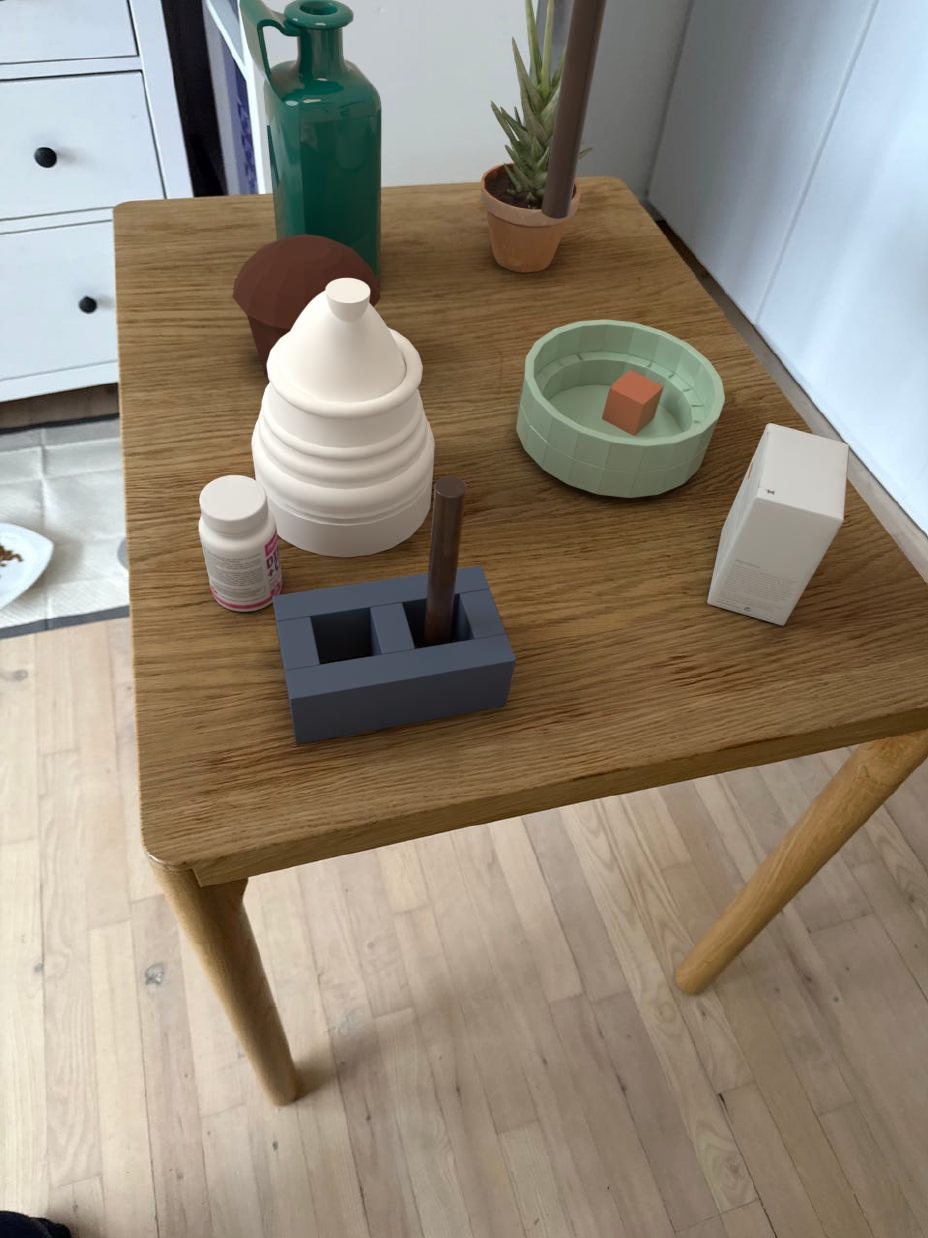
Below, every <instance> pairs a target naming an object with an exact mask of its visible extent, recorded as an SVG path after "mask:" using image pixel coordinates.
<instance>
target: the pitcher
mask: <svg viewBox="0 0 928 1238" xmlns="http://www.w3.org/2000/svg"><path fill="white" fill-rule="evenodd" d="M238 7H239V12H240V17H241V22H242V26H243V31H244V36H245V40H246V44H247V49H248V51H249V55H250V57H251V59H252V61H253V63H254V65H255V66H256V68H257V69H258V71H259V72H260V73H261V76H262V77H263V78H264V81H263V87H262V89H263V101H264V112H265V113H264V114H265V123H266V132H267V133H266V134H267V145H268V157H269V167H270V178H271V190H272V201H273V202H272V203H273V214H274V223H275V234H276V235H275V236H276V241H277V240H280V239H283V238H286V237H288V236H295V235H306V234H307V235H315V236H323V237H326V238H329V239H331V240H334V241H336V242H339V243H341V244H344V245H346V246H348V247H350V248H352V249H353V250H354V251H355V252H356V253H357V254H358V255H359V256H360V257H361V258H362V259H363V260H364V261H365V262H366V263H367V264H368V265H369V266H370V267H371V268H372V270H373V272H374V274H375V276H376V278H377V279H378V280H379V279H380V277H381V273H382V271H381V270H382V269H381V267H382V265H381V263H382V262H381V261H382V256H381V255H382V133H383V131H382V128H383V126H382V125H383V124H382V123H383V122H382V121H383V120H382V119H383V117H382V115H383V105H382V99H381V95H380V93H379V91H378V89H377V88H376V86H375V85H374V84H373V83H372V82H371V81H370V79H369V78H368V77H367V76H366V75H365V73H364V72H363V71H362V70H361V69H360V67H358V65H357V64H356V63H354V62H352V61H350V60H348V59H345V55H344V28H345V27H348V26H349V25H350V24H352V22H353V21H354V17H355V16H354V15H355V13H354V11H353V10H352V9H351V8H350V7H349V6H348V5H347V4H344V3H343V2H340V1H338V0H292V1H291V2H289V3H288V4H286V5H285V6H284V11H283V13H282V12H279V11H275V10H273V9H271V8H270V7H269V6H268V5H266V3H265V2H264V1H263V0H239V2H238ZM266 27H272V28H275V29H276V30H278V31H279V32H280V33H281V34H282V35H283V36H285V37H289V38H291V37H292V38H296V48H297V57H296V59H292V60H286V61H285V60H284V61H282V62H279V63H276V64H275V65H273V66H271V67H270V63H269V59H268V50H267V45H266V41H265V33H264V28H266Z"/></svg>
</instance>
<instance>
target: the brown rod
mask: <svg viewBox="0 0 928 1238" xmlns="http://www.w3.org/2000/svg"><path fill="white" fill-rule="evenodd" d="M607 2H608V0H572V6H571V13H570V19H569V26H568V27H569V28H568V33H567V34H568V35H567V38H566V39H567V40H566V43H567V45H566V44H565V46H566V52H565V58H564V65H563V71H562V78H561V84H560V91H559V97H558V104H557V111H556V117H555V124H554V130H553V137H552V143H551V150H550V156H549V163H548V169H547V176H546V183H545V189H544V196H543V202H542V209H541V210H542V213H543V214H544V215H546V216H547V217H550V218H554V219H562V218H565V217H567V216H568V215H569V211H570V205H571V200H572V194H573V188H574V183H575V179H576V176H577V172H578V166H579V161H580V160H579V155H580V152H581V150H582V149H581V148H582V145H583V144H582V139H584V138H583V137H584V132H585V126H586V121H587V115H588V110H589V103H590V99H591V98H590V97H591V93H592V87H593V81H594V78H593V76H594V71H595V69H596V65H597V59H598V55H599V47H600V42H601V37H602V30H603V26H604V21H605V14H606V8H607V4H608V3H607ZM595 72H596V71H595ZM594 77H595V76H594ZM581 144H582V145H581ZM578 160H579V161H578Z"/></svg>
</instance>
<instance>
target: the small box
mask: <svg viewBox="0 0 928 1238" xmlns="http://www.w3.org/2000/svg"><path fill="white" fill-rule="evenodd" d="M850 447H851V446H850V444H849V443H845V442H842V441H839V440H835V439H831V438H828V437H824V436H820V435H817V434H814V433H809V432H805V431H801V430H798V429H795V428H791V427H788V426H783V425H779V424H776V423H773V422H772V423H771V422H769V423H767V424H766V425H765V428H764V431H763V432H762V435H761V438H760V439H759V442H758V444H757V447H756V450H755V451H754V453H753V456H752V459H751V461H750V463H749V465H748V468H747V470H746V472H745V475H744V478H743V480H742V481H741V485H740V486H739V489H738V491H737V494H736V496H735V498H734V500H733V503H732V505H731V507H730V510H729V512H728V515H727V516H726V520H725V521H724V524H723V526H722V529H721V533H720V538H719V542H718V547H717V551H716V552H717V553H716V557H715V562H714V567H713V572H712V578H711V583H710V587H709V592H708V595H707V597H708V598H707V600H706V601H707V602H706V603H707V605H709V606H714V607H717V608H720V609H724V610H727V611H731V612H734V613H737V614H741V615H744V616H748V617H751V618H755V619H758V620H762V621H765V622H768V623H772V624H775V625H778V626H785V624H786V623H787V621H788V619H789V617H790V616H791V614H792V612H793V611H794V609H795V607H796V605H797V604H798V602H799V600H800V599H801V597H802V595H803V594H804V591H805V590H806V588H807V587H808V584H809V583H810V581H811V579H812V578H813V576H814V574H815V573H816V571H817V570H818V569H817V568H818V567H819V565H820V564H821V562H822V560H823V558H824V557H825V555H826V553H827V551H828V549H829V547H830V546H831V544H832V542H833V540H834V539H835V537H836V536H837V534H838V532H839V530H840V529H841V527H842V525H843V524H844V522H845V513H846V512H845V511H846V499H847V498H846V497H847V483H848V472H849V459H850V458H849V457H850Z"/></svg>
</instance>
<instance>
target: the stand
mask: <svg viewBox="0 0 928 1238" xmlns="http://www.w3.org/2000/svg"><path fill="white" fill-rule="evenodd" d="M427 584H428V572H425V573H419V574H413V575H405V576H399V577H398V576H397V577H391V578H385V579H377V580H371V581H363V582H358V583H351V584H344V585H337V586H332V587H324V588H318V589H311V590H303V591H297V592H290V593H282V594H279V595H275V596H273V597H272V598H273V602H272V606H273V612H274V619H275V625H276V633H277V634H276V635H277V641H278V647H279V653H280V659H281V664H282V670H283V677H284V683H285V688H286V693H287V694H286V695H287V699H288V706H289V713H290V718H291V723H292V729H293V736H294V742H295V744H296V745H301V744H306V743H307V744H308V743H311V742H317V741H322V740H329V739H333V738H339V737H345V736H349V735H354V734H355V735H356V734H359V733H366V732H371V731H377V730H382V729H388V728H393V727H398V726H399V727H400V726H405V725H409V724H410V725H411V724H415V723H419V722H420V723H421V722H426V721H431V720H436V719H442V718H447V717H453V716H459V715H464V714H469V713H474V712H480V711H485V710H491V709H496V708H501V707H506V706H507V703H508V698H509V694H510V689H511V684H512V680H513V676H514V675H513V674H514V670H515V667H516V662H517V658H516V656H515V653H514V651H513V648H512V645H511V643H510V640H509V637H508V635H507V632H506V630H505V626H504V624H503V621H502V618H501V616H500V613H499V610H498V607H497V604H496V602H495V599H494V596H493V593H492V590H491V589H490V585H489V582H488V579H487V577H486V573H485V570H484V568H483V566H482V565H473V566H467V567H461V568H460V567H459V568H457V575H456V584H455V593H454V602H453V611H452V620H451V629H450V637H449V644H443V645H437V646H431V647H425V648H423V637H424V624H425V611H426V597H427ZM353 658H354V659H353ZM347 659H348V660H347ZM340 660H341V661H340ZM334 661H335V662H334ZM327 662H329V663H327ZM321 663H322V664H321Z"/></svg>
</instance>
